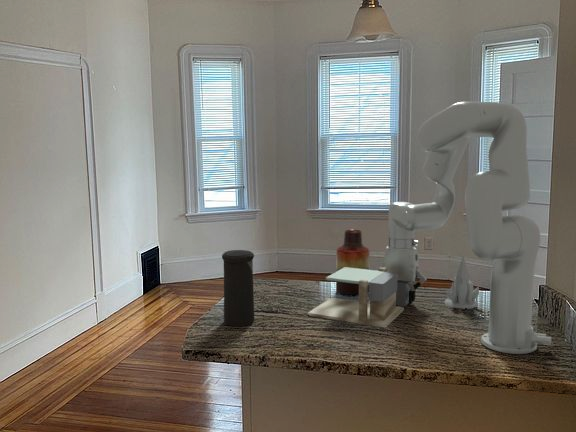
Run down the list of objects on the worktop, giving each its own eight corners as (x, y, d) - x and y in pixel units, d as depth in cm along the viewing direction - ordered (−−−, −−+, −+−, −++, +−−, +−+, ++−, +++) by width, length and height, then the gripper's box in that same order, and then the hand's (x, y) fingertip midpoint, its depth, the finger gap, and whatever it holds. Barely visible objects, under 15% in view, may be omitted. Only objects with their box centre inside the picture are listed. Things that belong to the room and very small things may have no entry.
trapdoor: (397, 289, 161) (398, 272, 160) (382, 302, 149) (382, 284, 148) (344, 283, 169) (344, 267, 168) (325, 294, 156) (325, 277, 156)
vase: (371, 296, 177) (372, 233, 174) (337, 296, 177) (337, 233, 174) (366, 287, 187) (367, 228, 184) (334, 287, 187) (335, 228, 185)
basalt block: (410, 302, 170) (410, 280, 169) (405, 306, 166) (405, 284, 165) (394, 300, 172) (394, 278, 171) (389, 304, 168) (389, 282, 167)
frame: (404, 309, 163) (404, 269, 161) (385, 328, 147) (385, 284, 146) (332, 299, 173) (332, 262, 172) (307, 315, 158) (307, 274, 156)
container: (261, 321, 154) (260, 250, 151) (237, 329, 147) (235, 255, 144) (240, 314, 159) (239, 246, 157) (216, 322, 153) (214, 251, 150)
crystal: (474, 297, 175) (475, 251, 172) (481, 310, 162) (483, 260, 160) (441, 296, 176) (442, 250, 174) (446, 309, 163) (448, 259, 161)
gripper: (432, 243, 166) (431, 301, 168) (377, 239, 174) (376, 294, 176) (426, 248, 159) (424, 308, 162) (369, 243, 167) (368, 300, 170)
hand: (399, 300), depth 169 cm, fingers open, 6 cm apart
